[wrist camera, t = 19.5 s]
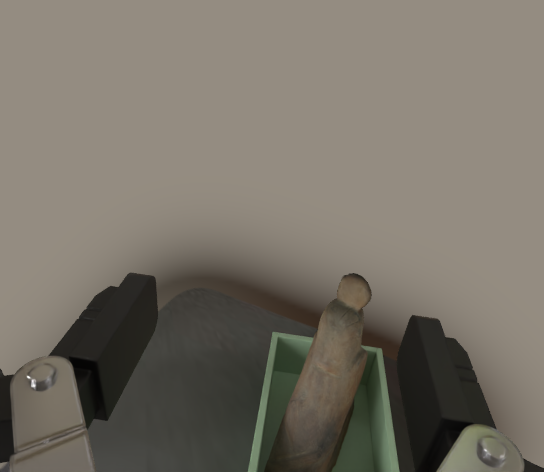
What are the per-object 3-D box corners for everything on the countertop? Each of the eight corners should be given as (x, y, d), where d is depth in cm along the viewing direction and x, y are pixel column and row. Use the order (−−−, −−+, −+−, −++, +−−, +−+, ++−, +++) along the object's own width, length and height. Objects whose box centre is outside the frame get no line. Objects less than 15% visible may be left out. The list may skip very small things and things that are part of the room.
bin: (240, 531, 32) (244, 491, 29) (268, 368, 46) (272, 331, 43) (388, 559, 31) (406, 520, 28) (370, 385, 45) (381, 348, 42)
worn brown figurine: (310, 404, 45) (351, 249, 39) (358, 430, 42) (409, 270, 36) (250, 480, 35) (293, 287, 29) (309, 520, 32) (368, 319, 26)
